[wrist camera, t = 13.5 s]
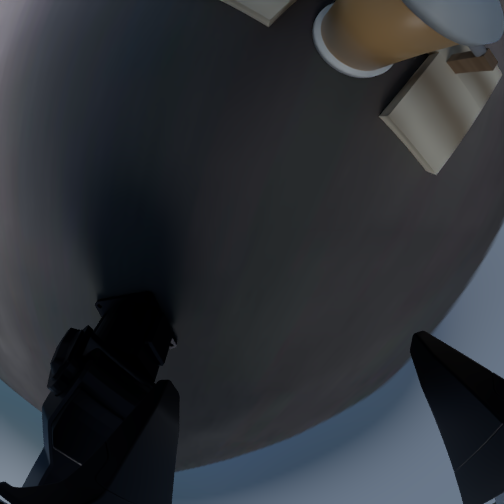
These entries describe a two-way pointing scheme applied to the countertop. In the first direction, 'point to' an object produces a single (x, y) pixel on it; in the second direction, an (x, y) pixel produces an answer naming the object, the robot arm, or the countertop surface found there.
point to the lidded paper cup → (400, 31)
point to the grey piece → (423, 92)
